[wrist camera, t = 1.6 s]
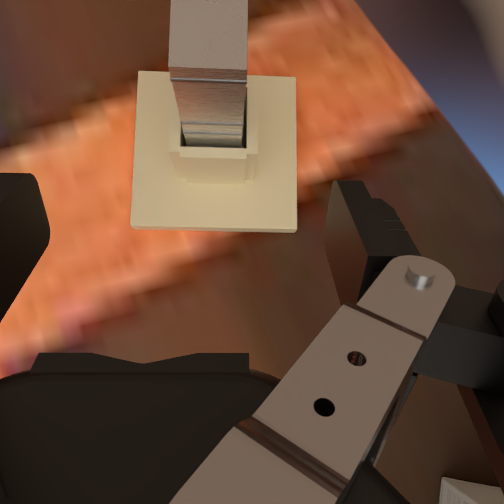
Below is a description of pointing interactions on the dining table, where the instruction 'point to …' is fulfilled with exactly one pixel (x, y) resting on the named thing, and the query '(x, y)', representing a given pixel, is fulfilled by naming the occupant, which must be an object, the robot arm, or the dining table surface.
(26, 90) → the dining table surface
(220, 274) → the dining table surface
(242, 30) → the column
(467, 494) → the supplement box
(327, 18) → the dining table surface
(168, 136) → the stand base
